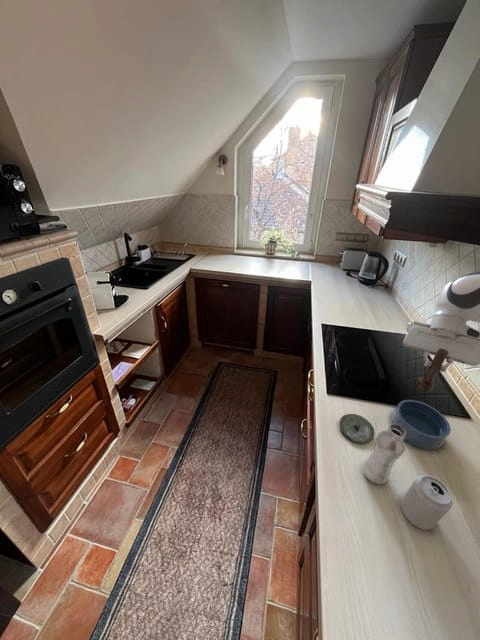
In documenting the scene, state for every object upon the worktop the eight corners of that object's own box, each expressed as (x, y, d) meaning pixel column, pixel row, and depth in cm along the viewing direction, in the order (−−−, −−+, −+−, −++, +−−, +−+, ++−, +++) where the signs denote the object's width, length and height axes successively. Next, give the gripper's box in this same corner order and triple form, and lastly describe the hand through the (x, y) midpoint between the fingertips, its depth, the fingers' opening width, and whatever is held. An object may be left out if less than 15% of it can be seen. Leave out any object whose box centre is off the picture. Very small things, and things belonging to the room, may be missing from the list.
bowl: (428, 415, 90) (436, 403, 87) (450, 454, 78) (460, 441, 74) (385, 409, 92) (390, 396, 89) (399, 446, 79) (407, 433, 76)
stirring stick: (428, 382, 86) (447, 347, 78) (435, 393, 82) (455, 356, 75) (413, 381, 87) (431, 345, 79) (419, 391, 83) (438, 354, 75)
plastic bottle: (357, 475, 72) (378, 430, 61) (367, 458, 76) (388, 414, 66) (380, 493, 68) (407, 448, 58) (389, 475, 72) (416, 430, 62)
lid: (372, 430, 86) (376, 417, 85) (373, 449, 77) (377, 436, 76) (339, 419, 90) (342, 406, 89) (336, 436, 81) (340, 422, 80)
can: (440, 523, 62) (463, 499, 56) (419, 537, 60) (441, 513, 54) (412, 492, 68) (431, 467, 62) (392, 503, 66) (409, 478, 60)
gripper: (411, 316, 84) (399, 355, 82) (491, 336, 75) (480, 380, 72) (407, 322, 89) (395, 358, 87) (481, 341, 80) (470, 382, 78)
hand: (434, 368), depth 80 cm, fingers closed on stirring stick, 2 cm apart
